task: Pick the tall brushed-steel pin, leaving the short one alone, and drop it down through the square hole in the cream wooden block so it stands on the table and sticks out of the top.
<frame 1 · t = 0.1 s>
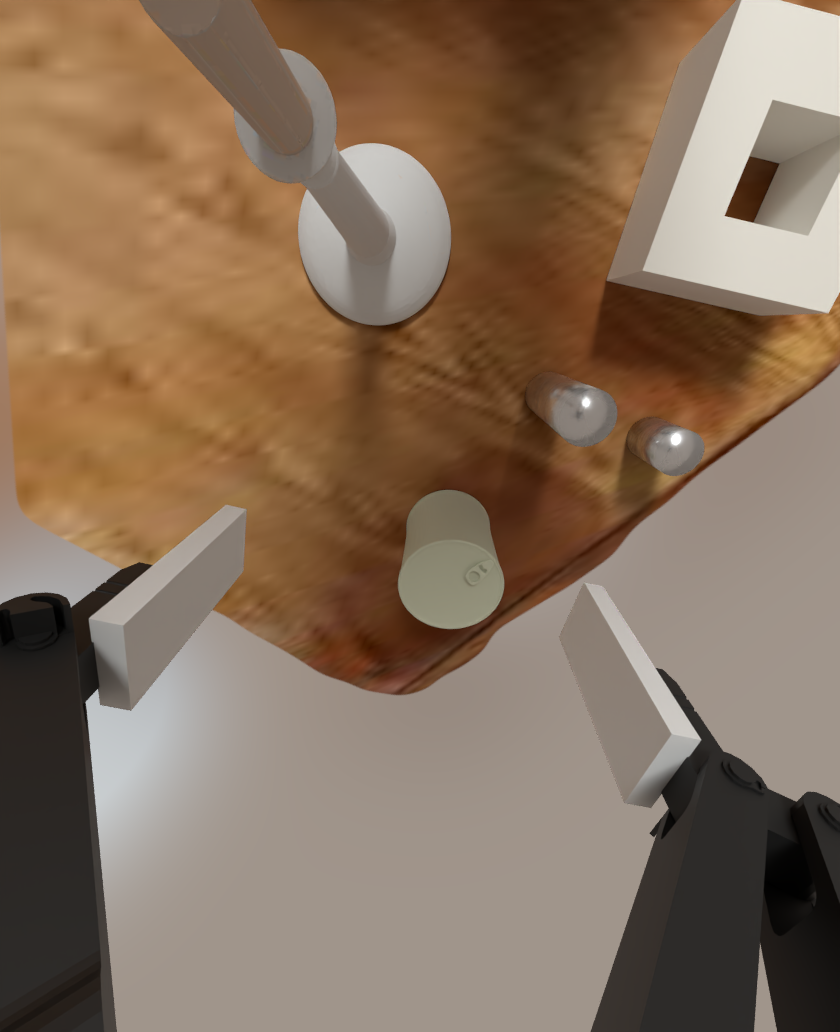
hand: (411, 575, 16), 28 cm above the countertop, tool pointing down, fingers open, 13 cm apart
short pin: (647, 437, 41), on the countertop
can: (447, 527, 46), on the countertop
long pin: (546, 393, 40), on the countertop
hole block: (723, 201, 33), on the countertop
candlestick: (375, 242, 35), on the countertop
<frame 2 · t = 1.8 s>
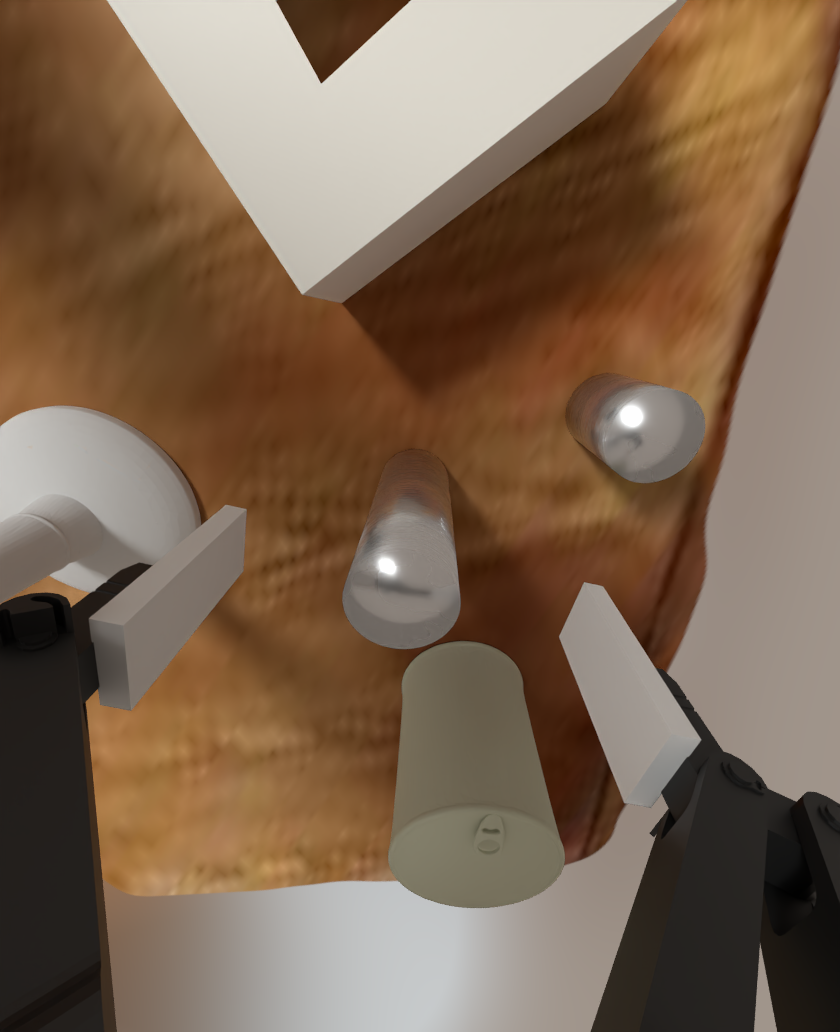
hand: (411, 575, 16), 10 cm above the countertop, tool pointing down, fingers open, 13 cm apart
short pin: (602, 411, 23), on the countertop
can: (461, 684, 32), on the countertop
long pin: (415, 481, 25), on the countertop
hole block: (375, 36, 17), on the countertop
candlestick: (101, 507, 27), on the countertop
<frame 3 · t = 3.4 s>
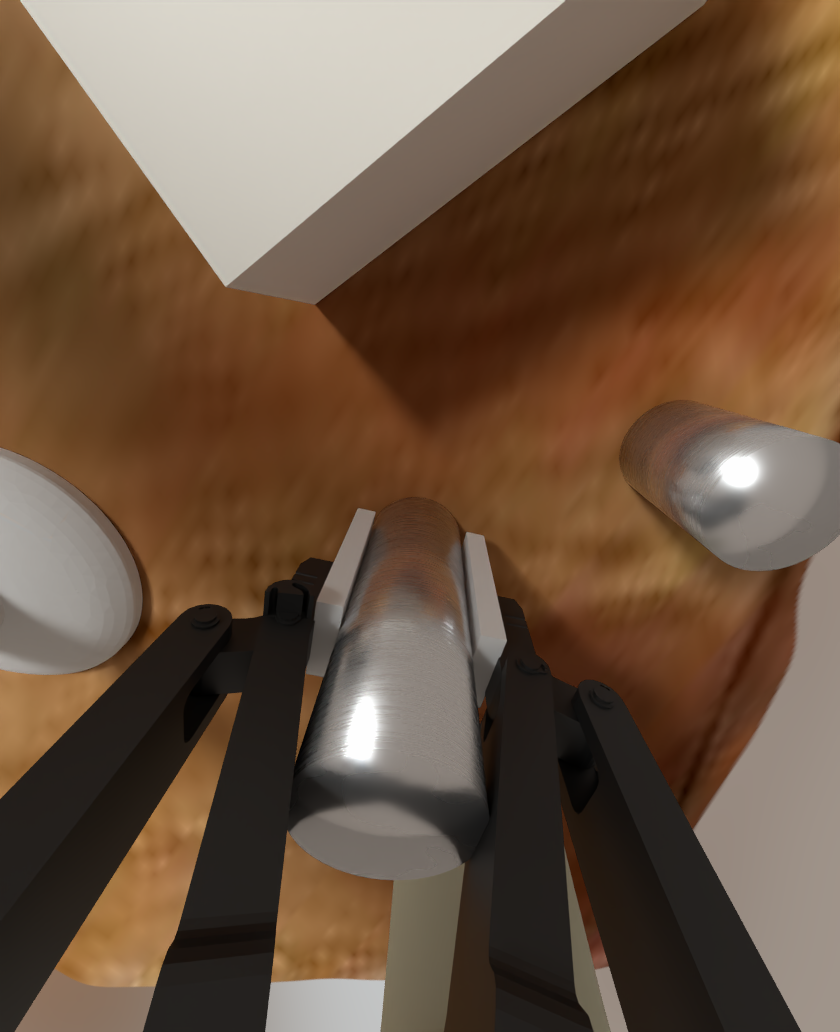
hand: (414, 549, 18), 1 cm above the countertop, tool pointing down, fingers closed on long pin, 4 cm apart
short pin: (670, 450, 17), on the countertop
can: (473, 776, 26), on the countertop
long pin: (415, 538, 19), on the countertop, touching gripper
candlestick: (15, 565, 21), on the countertop
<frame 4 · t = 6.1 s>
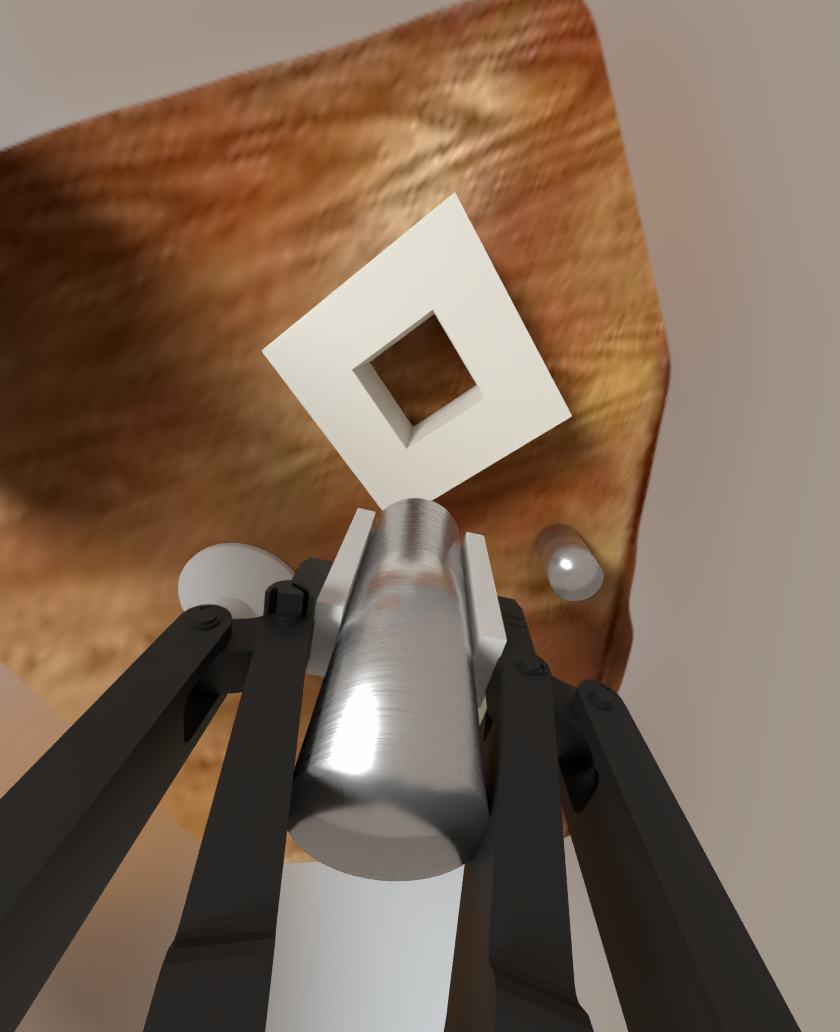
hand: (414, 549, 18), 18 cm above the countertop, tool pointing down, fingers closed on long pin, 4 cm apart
short pin: (557, 543, 38), on the countertop
long pin: (415, 538, 19), point 17 cm above the countertop, touching gripper
hole block: (423, 373, 32), on the countertop
candlestick: (245, 597, 42), on the countertop
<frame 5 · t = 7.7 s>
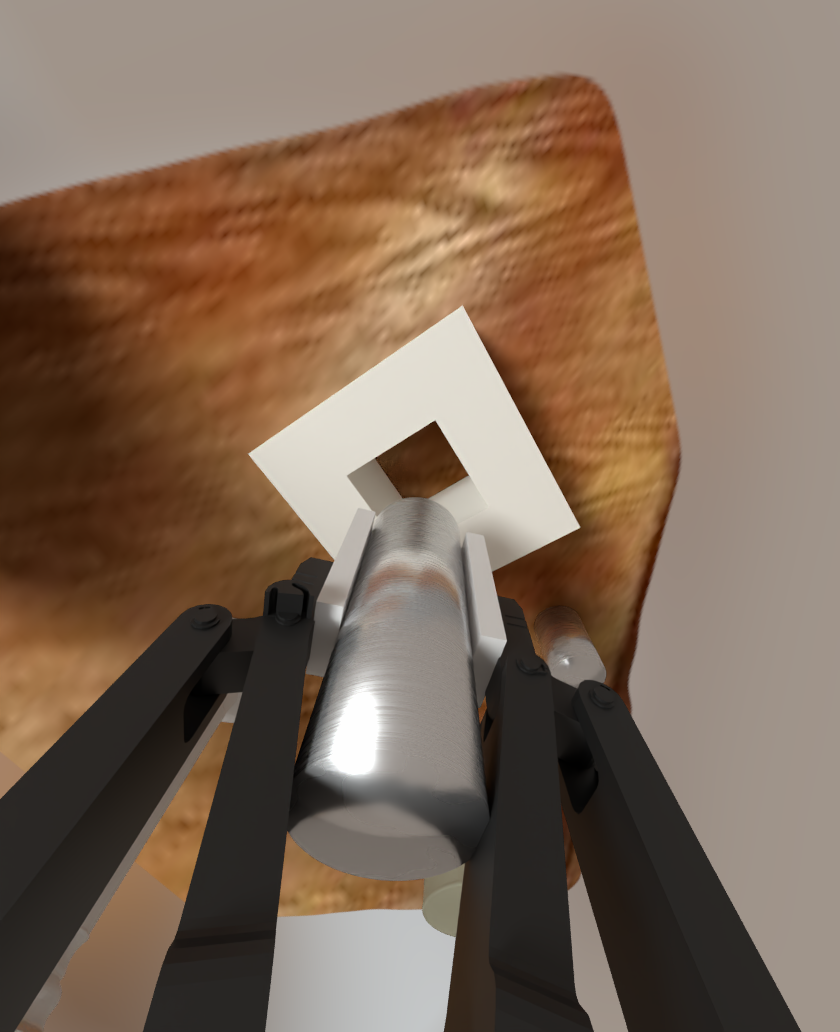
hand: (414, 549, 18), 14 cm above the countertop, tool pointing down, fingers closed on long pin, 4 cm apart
short pin: (557, 624, 36), on the countertop
can: (467, 775, 45), on the countertop
long pin: (415, 538, 19), point 13 cm above the countertop, touching gripper
hole block: (421, 457, 31), on the countertop
candlestick: (229, 667, 40), on the countertop
when the fingers open (10 cm above the countertop, at t = 8.9 s): long pin drops 8 cm, resting in hole block.
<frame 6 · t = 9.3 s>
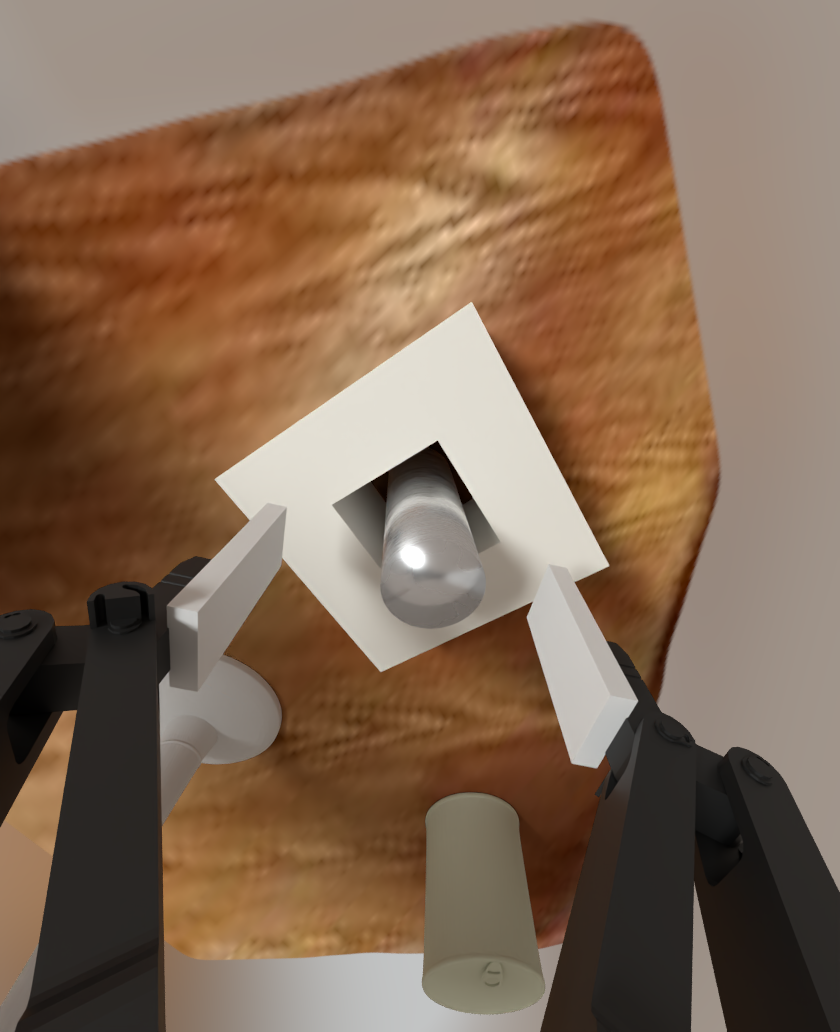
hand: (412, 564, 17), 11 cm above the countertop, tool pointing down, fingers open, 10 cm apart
can: (471, 819, 41), on the countertop
long pin: (419, 477, 27), resting in hole block
hole block: (422, 477, 27), on the countertop
candlestick: (209, 704, 36), on the countertop
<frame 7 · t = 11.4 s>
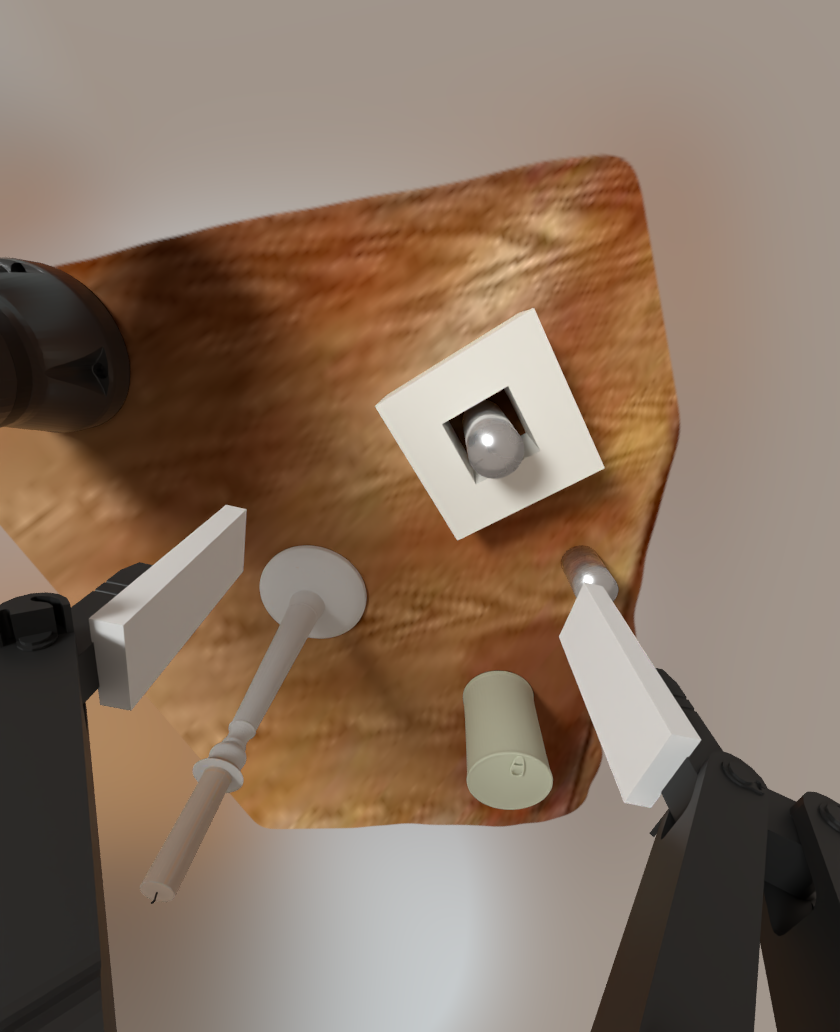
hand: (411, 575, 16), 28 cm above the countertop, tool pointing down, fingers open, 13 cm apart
short pin: (579, 561, 46), on the countertop
can: (497, 695, 55), on the countertop
long pin: (483, 421, 41), resting in hole block
hole block: (484, 421, 41), on the countertop
candlestick: (314, 591, 50), on the countertop
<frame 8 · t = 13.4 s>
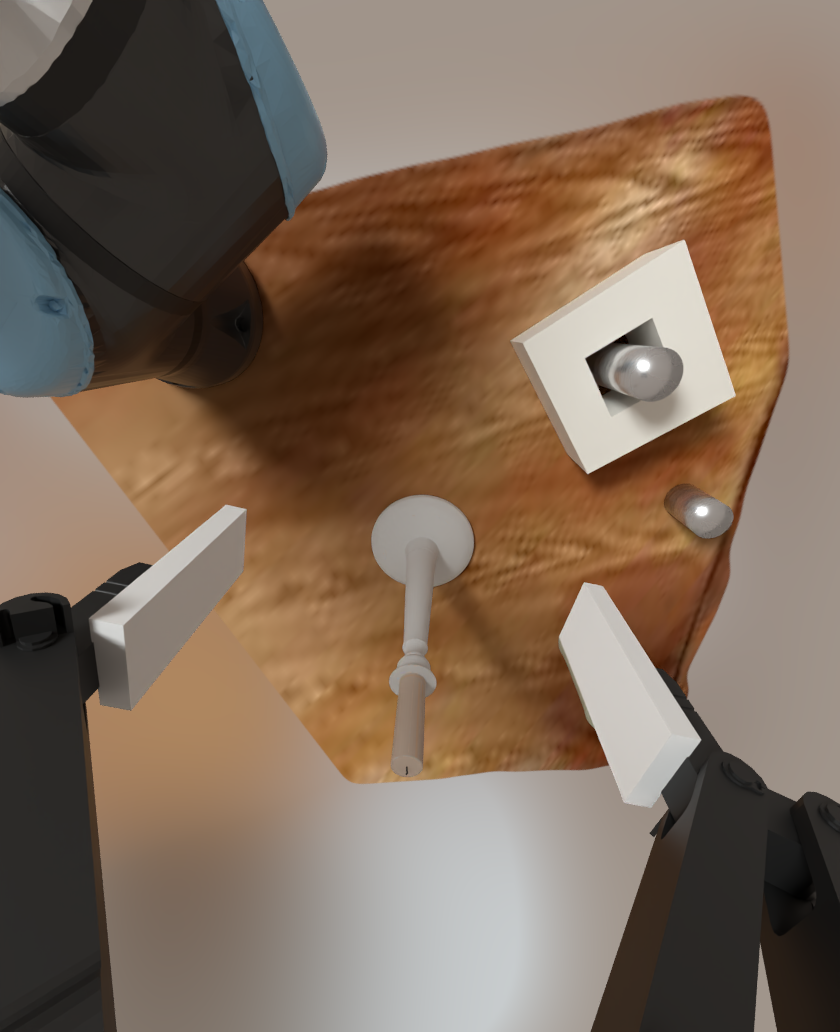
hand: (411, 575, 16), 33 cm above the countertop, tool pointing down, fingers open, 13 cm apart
short pin: (681, 499, 49), on the countertop
long pin: (600, 363, 43), resting in hole block
hole block: (602, 363, 43), on the countertop
candlestick: (422, 541, 53), on the countertop
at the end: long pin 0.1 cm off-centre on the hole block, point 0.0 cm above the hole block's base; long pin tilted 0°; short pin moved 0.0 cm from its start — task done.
